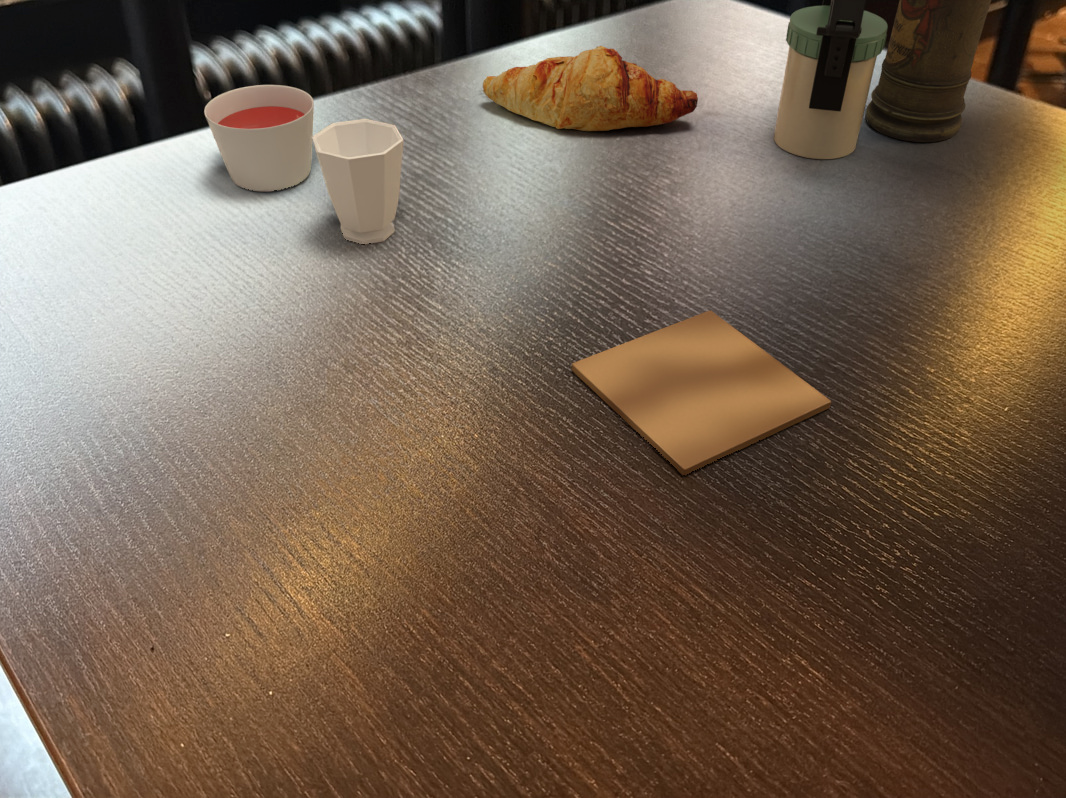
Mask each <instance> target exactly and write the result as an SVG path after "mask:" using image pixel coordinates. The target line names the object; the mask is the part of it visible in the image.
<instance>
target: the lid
mask: <svg viewBox="0 0 1066 798" xmlns="http://www.w3.org/2000/svg"><path fill="white" fill-rule="evenodd" d="M829 11H830V6H822V5H812V6H807V7H802V8H800V9H797V10H795V11H794V12H793V13H791V15H790V17H789V21H788V23H787V24H788V25H787V30H786V35H785V37H786V39H785V42H786V43H787V45H788V47H789V46H790V47H791V48H792V49H794V50H795V51H797V52H799V53H801V54H804V55H806V56H809V57H813V58H817V59H818V57H819V52H820V46H821V41H822V36H819V35H816V33H817V28H818V27H825V25H827V23H828V17H829ZM839 21H847V20H839ZM848 22H852V21H848ZM861 27H862V31H861V34H860V36H859V37H858V38H856V43H855V48H854V52H853V57H852V61H851V62H853V61H862V60H867V59H871V58H874V57H876V56H877V57H878V56H879V55H880V54H881V53H882V52H883V50H884V49H885V45H886V40H887V36H888V34H887V32H888V28H889V27H888V23H887V21H886V20H885V19H884V18H882V17H881V16H879V15H877V14H875V13H873V12H871V11H868V10H864V13H863V18H862V23H861Z"/></svg>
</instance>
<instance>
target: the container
mask: <svg viewBox="0 0 1066 798" xmlns="http://www.w3.org/2000/svg"><path fill="white" fill-rule="evenodd" d="M991 2H992V0H899V1H898V4H897V5H898V6H897V9H896V14H895V17H894V22H893V26H892V30H891V34H890V39H889V41H888V46H887V49H886V54H885V57H884V59H883V61H882V63H881V71H880V76H879V80H878V82H877V85H876V86H875V87H874V89H873V90H872V92H871V94H870V97H871V98H870V99H871V101H870V102H868V104H867V106H866V108H865V119H866V122H867V123H868V125H869V126H870V127H871V128H872V129H874V131H877V132H878V133H880V134H882V135H884V136H887V137H890V138H893V139H898V140H901V141H905V142H906V141H907V142H915V143H933V142H941V141H945V140H948V139H951V138H953V137H954V136H955V135H956V134H957V133H958V132H959V130H960V129H961V126H962V123H963V116H962V114H963V112H964V111H965V109H966V102H965V101H966V99H965V95H966V91H967V88H968V85H969V84H968V83H970V81H971V79H972V68H973V65H974V60H975V57H976V52H977V49H978V46H979V42H980V39H981V36H982V32H983V30H984V26H985V23H986V19H987V16H988V12H989V8H990V6H991Z"/></svg>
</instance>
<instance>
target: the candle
mask: <svg viewBox="0 0 1066 798" xmlns="http://www.w3.org/2000/svg"><path fill="white" fill-rule="evenodd" d="M314 112H315V102H314V98H313V97H312V96H311V95H310V93H308V92H307V91H304V90H303V89H300V88H297V87H293V86H288V85H281V84H260V85H259V84H257V85H249V86H244V87H239V88H235V89H232V90H228V91H225V92H223V93H221V94H218V95H217V96H215V97H214V98H212V99H211V100H209V102H208V103H206V105H205V106H204V111H203V113H204V116H205V119H206V121H207V124H208V127H209V129H210V131H211V134H212V136H213V139H214V141H215V144H216V146H217V148H218V151H219V153H220V156H221V159H222V160H223V163H224V164H225V168H226V169H227V172H228V175H229V177H230V179H231V180H232V182H233V183H234V184H235V185H237V186H238V187H240V188H241V189H244V188H245V190H248V189H249V190H248V191H252V190H253V191H252V192H275V191H274V190H277V191H282V190H285V189H284V188H286V189H289V188H288V187H290V188H292V187H294V185H295V186H297V185H299V184H301V183H302V182H303V181H305V180H306V179H307V178H308V177H309V176H310V173H311V169H312V161H313V160H312V158H313V140H312V136H314ZM300 182H301V183H300ZM291 186H292V187H291ZM281 189H282V190H281Z"/></svg>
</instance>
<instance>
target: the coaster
mask: <svg viewBox="0 0 1066 798" xmlns="http://www.w3.org/2000/svg"><path fill="white" fill-rule="evenodd" d="M570 369H571V371H572V373H574V374H575V375H576V376H577V377H578V378H579V379H580V380H581V381H582V382H583V383H584V384H585V385H586V386H588V387H589V389H590V390H592V391H593V392H594V393H595V395H597V396H598V398H600V399H601V400H602V401H603V402H605V404H606V405H608V407H610V408H611V409H612V410H613V411H614V412H615V414H617V415H618V416H619V415H620V416H621V417H620V416H619V417H620V418H621V419H622V420H623V421H625V423H626V424H628V425H629V426H630V428H632V429H633V430H634V431H635V430H636V431H635V432H636V433H637V432H638V433H639V434H640V435H639V434H638V433H637V434H638V435H639V436H640V437H642V438H643V437H644V438H643V440H645V441H646V440H647V441H646V442H647V443H648V442H649V443H648V445H650V444H651V445H652V446H653V447H654V448H656V450H658V452H660V453H659V455H661V454H662V455H661V457H663V456H664V457H663V458H664V459H665V458H666V459H665V461H667V460H668V461H669V462H670V463H669V462H668V461H667V462H668V463H669V464H670V465H671V464H672V465H673V466H674V467H675V468H676V469H677V470H676V469H675V468H674V467H673V466H672V465H671V466H672V467H673V468H674V469H675V470H676V471H677V472H678V473H679V474H680V475H682V476H683V475H685V476H687V474H688V475H690V474H692V473H693V472H692V471H694V472H696V471H698V470H700V469H702V467H703V468H705V467H706V466H705V465H707V464H709V465H711V464H713V463H715V462H717V461H718V460H717V459H720V458H722V457H724V456H726V455H728V456H730V455H732V454H734V453H733V452H735V451H737V452H739V451H741V450H743V449H745V448H748V447H749V446H752V445H754V444H756V443H758V442H760V441H762V440H764V439H767V438H769V437H771V436H773V435H775V434H777V433H780V432H781V431H784V430H786V429H788V428H790V427H792V426H795V425H796V424H799V423H801V422H803V421H805V420H807V419H809V418H811V417H814V416H815V415H817V414H820V413H822V412H824V411H826V410H828V409H830V407H831V405H832V401H831V399H829V398H828V397H826V396H825V395H824V394H823V393H821V392H820V391H819V390H817V389H816V388H815V387H813V386H812V385H810V384H809V383H808V382H807V381H805V380H804V379H802V378H801V377H800V376H799V375H797V374H796V373H795V372H794V371H792V370H791V369H790V368H788V367H787V366H785V365H784V364H782V362H780V361H779V360H777V359H776V358H775V357H773V356H772V355H771V354H770V353H769V352H767V351H765V350H764V349H763V348H762V347H760V346H759V345H758V344H756V343H755V342H753V340H751V339H750V338H748V337H747V336H746V335H744V334H743V333H741V332H740V331H739V330H738V329H736V328H735V327H733V326H732V324H730V323H729V322H727V321H725V320H724V319H723V318H722V317H721V316H719V315H718V314H716V313H715V312H714V311H712V310H710V309H709V310H706V311H704V312H701V313H699V314H696V315H694V316H691V317H689V318H686V319H683V320H680V321H677V322H676V323H672V324H670V325H667V326H666V327H663V328H660V329H658V330H654V331H653V332H652V331H651V332H649V333H647V334H644V335H642V336H639V337H637V338H635V339H631V340H629V341H627V342H624V343H621V344H619V345H616V346H614V347H611V348H608V349H606V350H603V351H601V352H598V353H596V354H593V355H590V356H587V357H585V358H582V359H580V360H577V361H575V362H572V363H571V368H570ZM766 437H767V438H766ZM759 440H760V441H759ZM751 444H752V445H751ZM651 445H650V446H651ZM652 446H651V447H652ZM653 447H652V448H653ZM654 448H653V449H654ZM656 450H655V451H656ZM738 450H739V451H738ZM658 452H657V453H658ZM731 453H732V454H731ZM735 453H736V452H735ZM729 454H730V455H729ZM726 457H727V456H726ZM724 458H725V457H724ZM722 459H723V458H722ZM720 460H721V459H720ZM714 461H715V462H714ZM712 462H713V463H712ZM710 463H711V464H710ZM704 466H705V467H704ZM707 466H708V465H707ZM700 467H701V468H700ZM699 468H700V469H699ZM697 469H698V470H697ZM695 470H696V471H695ZM691 472H692V473H691ZM689 473H690V474H689Z"/></svg>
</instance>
